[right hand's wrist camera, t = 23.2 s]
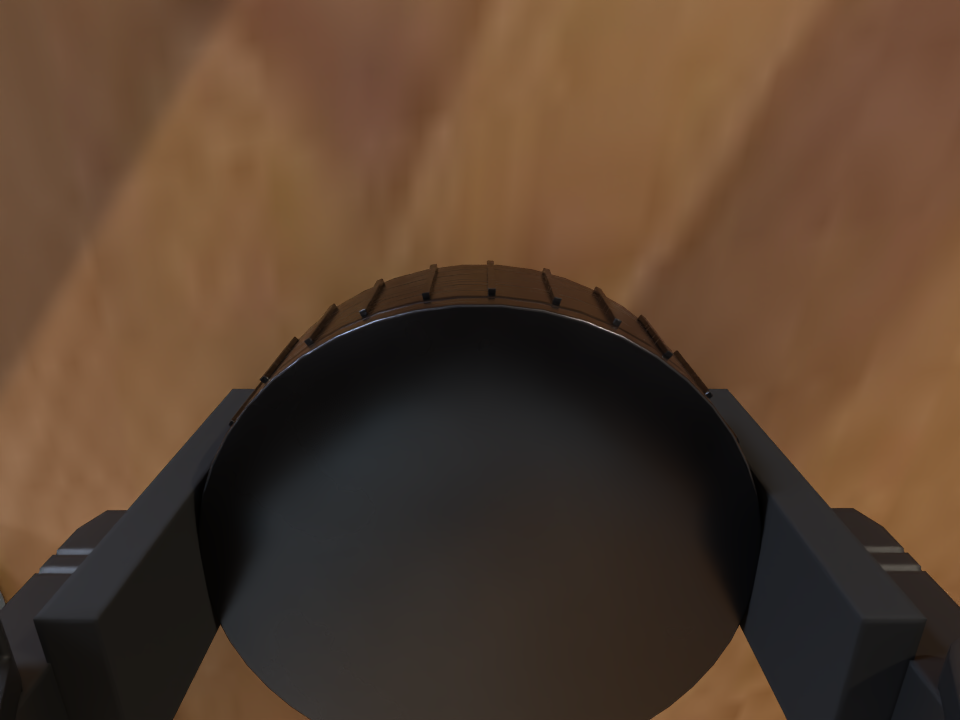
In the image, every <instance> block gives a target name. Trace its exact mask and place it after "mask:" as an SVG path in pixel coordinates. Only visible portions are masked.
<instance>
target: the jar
mask: <svg viewBox="0 0 960 720" xmlns="http://www.w3.org/2000/svg"><path fill="white" fill-rule="evenodd" d="M5 605H6V603H5V600H4V597H3V595H2V593H1V591H0V610H1V609H2V608H3V607H4V606H5Z"/></svg>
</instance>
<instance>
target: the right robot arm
mask: <svg viewBox="0 0 960 720" xmlns="http://www.w3.org/2000/svg"><path fill="white" fill-rule="evenodd" d="M254 390H255V389H232V390H231V392H230V393H229V394H228V395H227V396H226V397H225V398H224V400H223V401H222V402H221V403H220V404H219V405H218V407H217V408H216V409H215V410H214V411H213V412H212V413H211V415H210V416H209V417H208V418H207V419H206V420H205V422H204V423H203V424H202V425H201V426H200V427H199V428H198V430H197V431H196V432H195V433H194V434H193V435H192V436H191V438H190V439H189V440H188V441H187V442H186V443H185V445H184V446H183V447H182V448H181V449H180V450H179V451H178V453H177V454H176V455H175V456H174V457H173V458H172V459H171V461H170V462H169V463H168V464H167V465H166V466H165V468H164V469H163V470H162V471H161V472H160V473H159V474H158V476H157V477H156V478H155V479H154V480H153V481H152V483H151V484H150V485H149V486H148V487H147V488H146V489H145V491H144V492H143V493H142V494H141V495H140V496H139V497H138V499H137V500H136V501H135V502H134V503H133V504H132V506H131V507H130V508H129V509H128V510H107V511H105V512H104V513H102V514H101V515H99V516H97V517H96V518H94V519H92V520H91V521H89V522H88V523H86V524H84V525H83V526H81V527H80V528H78V529H77V530H76V531H75V532H74V533H73V534H72V535H71V536H70V537H69V538H68V539H67V540H66V541H65V543H64V544H63V545H62V546H61V547H60V548H59V549H58V550H57V554H56V555H52V556H51V557H50V558H49V559H48V560H47V562H46V563H45V564H44V565H43V566H42V567H41V568H40V571H39V573H35V574H34V575H33V576H32V577H31V578H30V579H29V580H28V582H27V583H26V584H25V585H24V586H23V587H22V588H21V589H20V590H19V591H18V592H17V593H16V594H15V595H14V596H13V597H12V598H11V599H10V601H9V602H8V603H7V604H6V605H5V606H4V607H3V608H2V609H1V610H0V720H173V718H174V716H175V714H176V712H177V710H178V708H179V706H180V704H181V702H182V700H183V698H184V696H185V694H186V692H187V690H188V688H189V686H190V684H191V682H192V680H193V678H194V676H195V674H196V672H197V670H198V668H199V666H200V664H201V662H202V660H203V658H204V656H205V654H206V652H207V650H208V648H209V646H210V644H211V642H212V640H213V638H214V636H215V634H216V632H217V630H218V628H219V626H220V622H219V620H218V619H217V617H216V615H215V612H214V609H213V606H212V604H211V601H210V598H209V595H208V591H207V586H206V581H205V576H204V571H203V566H202V561H201V555H200V549H199V526H198V525H199V518H200V510H201V502H202V494H203V491H204V488H205V484H206V481H207V478H208V474H209V471H210V468H211V464H212V462H213V460H214V458H215V456H216V454H217V452H218V450H219V448H220V445H221V443H222V441H223V439H224V437H225V435H226V433H227V432H228V430H229V429H230V428H231V426H229V425H228V424H229V422H230V420H231V419H232V418H233V416H234V415H235V414H236V413H237V411H238V410H239V409H240V408H241V406H242V405H243V404H244V403H245V401H246V400H247V399H248V398H249V396H250V395H251V394H252V392H253V391H254ZM709 391H710V392H711V393H712V395H713V397H711V398H710V399H709V400H710V401H711V402H712V404H713V405H714V406H715V408H716V409H717V411H718V412H719V414H720V415H721V416H722V417H723V419H724V420H725V421H726V423H727V424H728V425H729V426H730V428H731V429H732V430H733V432H734V433H735V434H736V436H737V437H738V439H739V441H740V443H738V444H739V446H740V448H741V450H742V452H743V454H744V456H745V458H746V460H747V462H748V465H749V468H750V471H751V474H752V478H753V481H754V484H755V488H756V491H757V494H758V502H759V510H760V517H761V525H762V526H761V549H760V556H759V561H758V566H757V571H756V577H755V582H754V587H753V591H752V596H751V599H750V601H749V604H748V607H747V610H746V613H745V615H744V617H743V619H742V621H741V623H740V626H741V628H742V630H743V632H744V634H745V636H746V638H747V640H748V642H749V644H750V646H751V648H752V650H753V652H754V654H755V656H756V658H757V660H758V662H759V664H760V666H761V668H762V670H763V672H764V674H765V676H766V678H767V680H768V682H769V684H770V686H771V688H772V690H773V692H774V694H775V696H776V698H777V700H778V702H779V704H780V706H781V708H782V710H783V712H784V714H785V716H786V718H787V720H960V607H959V606H958V605H957V604H956V603H955V602H954V601H953V600H952V599H951V597H950V596H949V595H948V594H947V593H946V592H945V591H944V590H943V589H942V588H941V587H940V586H939V585H938V584H937V583H936V582H935V581H934V580H933V579H932V578H931V577H930V575H929V574H928V573H927V572H926V571H922V570H921V566H920V565H919V564H918V563H917V562H916V561H915V560H914V559H913V558H912V557H911V556H910V555H909V553H904V548H903V547H902V546H901V545H900V544H899V543H898V542H897V541H896V540H895V539H894V538H893V537H892V536H891V535H890V534H889V533H888V531H887V530H886V529H885V528H884V527H883V526H881V525H879V524H878V523H876V522H875V521H873V520H871V519H870V518H868V517H866V516H865V515H863V514H862V513H860V512H858V511H857V510H855V509H854V508H830V507H829V506H828V505H827V503H826V502H825V501H824V500H823V499H822V498H821V497H820V495H819V494H818V493H817V492H816V491H815V490H814V488H813V487H812V486H811V485H810V484H809V483H808V482H807V480H806V479H805V478H804V477H803V476H802V475H801V473H800V472H799V471H798V470H797V469H796V468H795V467H794V465H793V464H792V463H791V462H790V461H789V460H788V459H787V457H786V456H785V455H784V454H783V453H782V452H781V450H780V449H779V448H778V447H777V446H776V445H775V444H774V442H773V441H772V440H771V439H770V438H769V437H768V436H767V434H766V433H765V432H764V431H763V430H762V429H761V427H760V426H759V425H758V424H757V423H756V422H755V421H754V419H753V418H752V417H751V416H750V415H749V414H748V412H747V411H746V410H745V409H744V408H743V407H742V406H741V404H740V403H739V402H738V401H737V400H736V399H735V398H734V396H733V395H732V394H731V393H730V392H729V391H728V389H709Z"/></svg>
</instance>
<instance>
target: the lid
mask: <svg viewBox="0 0 960 720" xmlns="http://www.w3.org/2000/svg"><path fill="white" fill-rule="evenodd" d="M260 381H261V382H260V384H259V385H258V386H257V387H256V389H255V390H254V391H253V392H252V394H251V395H250V396H249V398H248V399H247V400H246V401H245V403H244V404H243V405H242V406H241V408H240V409H239V410H238V411H237V413H236V414H235V415H234V416H233V418H232V419H231V420H230V422H229V424H228V425H229V426H231V428H230V429H229V430H228V432H227V433H226V435H225V437H224V439H223V441H222V443H221V445H220V448H219V450H218V452H217V454H216V456H215V458H214V460H213V462H212V464H211V468H210V471H209V474H208V478H207V481H206V484H205V488H204V491H203V494H202V502H201V510H200V518H199V525H198V526H199V549H200V555H201V561H202V566H203V571H204V576H205V581H206V586H207V591H208V595H209V598H210V601H211V604H212V606H213V609H214V612H215V615H216V617H217V619H218V620H219V622H220V624H221V626H222V628H223V630H224V632H225V633H226V635H227V637H228V639H229V641H230V642H231V644H232V645H233V646H234V648H235V649H236V651H237V652H238V653H239V655H240V656H241V658H242V659H243V660H244V662H245V663H246V664H247V666H248V667H249V668H250V669H251V670H252V671H253V672H254V673H255V674H256V675H257V676H258V677H259V678H260V680H261V681H262V682H263V683H264V684H265V685H266V686H267V687H268V688H269V689H271V690H272V691H273V692H274V693H275V694H276V695H278V696H279V697H280V698H281V699H282V700H284V701H285V702H286V703H287V704H288V705H290V706H291V707H292V708H294V709H295V710H297V711H298V712H300V713H301V714H303V715H304V716H306V717H307V718H309V719H310V720H650V719H651V718H653V717H654V716H656V715H657V714H659V713H660V712H662V711H663V710H665V709H666V708H668V707H670V706H671V705H672V704H673V703H674V702H675V701H677V700H678V699H679V698H680V697H681V696H683V695H684V694H685V693H686V692H687V691H689V690H690V689H691V688H692V687H693V686H694V685H695V684H696V683H697V682H698V681H699V680H700V679H701V678H702V677H703V676H704V674H705V673H706V672H707V671H708V670H709V669H710V668H711V667H712V666H713V665H714V663H715V662H716V661H717V659H718V658H719V657H720V655H721V654H722V652H723V651H724V650H725V648H726V647H727V645H728V644H729V643H730V641H731V640H732V638H733V636H734V634H735V632H736V630H737V628H738V626H739V624H740V623H741V621H742V619H743V617H744V615H745V613H746V610H747V607H748V604H749V601H750V599H751V596H752V591H753V587H754V582H755V577H756V571H757V566H758V561H759V556H760V549H761V526H762V525H761V517H760V510H759V502H758V494H757V491H756V488H755V484H754V481H753V478H752V474H751V471H750V468H749V465H748V462H747V460H746V458H745V456H744V454H743V452H742V450H741V448H740V446H739V444H738V443H740V441H739V439H738V437H737V436H736V434H735V433H734V432H733V430H732V429H731V428H730V426H729V425H728V424H727V423H726V421H725V420H724V419H723V417H722V416H721V415H720V414H719V412H718V411H717V409H716V408H715V406H714V405H713V404H712V402H711V401H710V400H709V399H710V398H711V397H713V395H712V393H711V392H710V391H709V389H708V388H707V387H706V386H705V384H704V383H703V382H702V381H701V379H700V378H699V377H698V376H697V374H696V373H695V372H694V371H693V369H692V368H691V367H690V366H689V364H688V363H687V362H686V361H685V359H684V358H683V357H682V356H681V354H680V353H679V352H678V351H675V352H674V353H673V352H672V351H671V349H670V348H669V347H668V346H667V345H666V344H665V343H664V341H663V340H662V339H661V337H660V336H659V335H658V334H657V332H656V331H655V330H654V328H653V327H652V326H651V325H650V323H649V322H648V321H647V319H646V318H645V317H644V316H642V315H640V317H639V318H637V317H636V316H635V315H633V314H632V313H631V312H629V311H628V310H627V309H626V308H624V307H623V306H621V305H619V304H618V303H616V302H614V301H612V300H611V299H609V298H607V297H606V296H605V294H604V293H603V291H602V290H601V289H600V288H598V287H595V289H594V290H592V289H590V288H588V287H585V286H583V285H580V284H578V283H575V282H573V281H571V280H568V279H566V278H563V277H559V276H555V275H552V274H551V272H550V270H549V269H546V268H544V269H543V272H540V271H536V270H532V269H525V268H517V267H510V266H502V265H494V261H487V265H458V266H450V267H443V268H437V264H434V265H431V266H430V269H428V270H424V271H420V272H416V273H413V274H409V275H405V276H401V277H398V278H394V279H392V280H389V281H387V282H385V283H384V281H383V279H380V280H377V282H376V283H375V285H374V287H372V288H370V289H368V290H365V291H363V292H361V293H360V294H358V295H356V296H355V297H353V298H351V299H349V300H348V301H346V302H344V303H343V304H341V305H339V306H336V305H335V304H333V305H331V306H330V307H329V308H328V310H327V311H326V312H325V314H324V315H323V316H322V318H321V319H320V320H319V321H318V322H317V323H315V324H314V325H313V326H312V327H310V328H309V329H308V331H307V332H306V333H305V334H304V335H303V336H302V337H301V338H300V339H299V340H298V339H297V338H296V337H294V338H293V339H292V340H291V341H290V343H289V344H288V345H287V346H286V348H285V349H284V350H283V351H282V353H281V354H280V355H279V356H278V357H277V359H276V360H275V361H274V362H273V364H272V365H271V366H270V367H269V369H268V370H267V371H266V372H265V374H264V375H263V376H262V377H261V379H260Z"/></svg>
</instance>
